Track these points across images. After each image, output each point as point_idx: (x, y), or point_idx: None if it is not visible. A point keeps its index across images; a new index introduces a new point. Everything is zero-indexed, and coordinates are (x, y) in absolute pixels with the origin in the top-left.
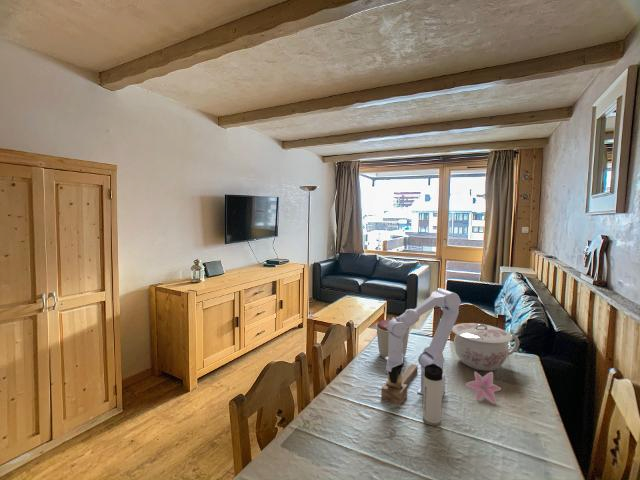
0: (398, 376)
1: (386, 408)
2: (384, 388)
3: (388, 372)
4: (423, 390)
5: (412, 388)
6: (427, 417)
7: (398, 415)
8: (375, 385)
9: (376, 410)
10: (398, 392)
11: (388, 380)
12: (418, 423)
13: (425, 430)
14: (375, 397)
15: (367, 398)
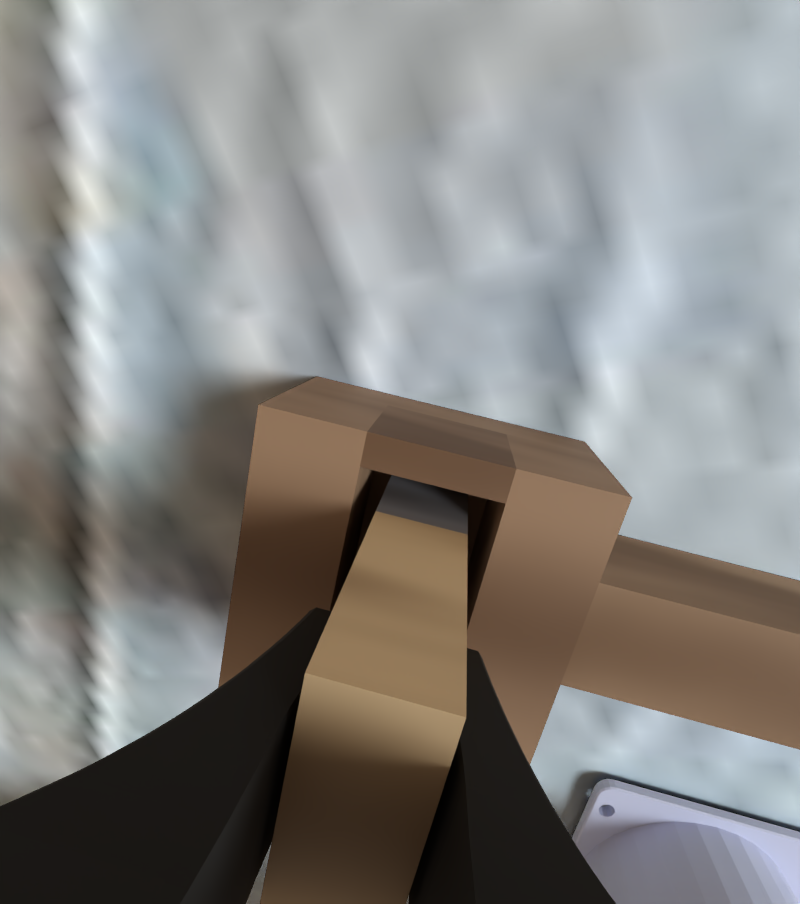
0: (265, 897)
1: (135, 469)
2: (251, 459)
3: (112, 756)
4: (608, 870)
5: (706, 724)
6: None
7: (82, 597)
8: (657, 213)
9: (40, 365)
10: (234, 674)
11: (355, 559)
12: (65, 755)
13: (10, 796)
14: (303, 293)
15: (229, 183)
